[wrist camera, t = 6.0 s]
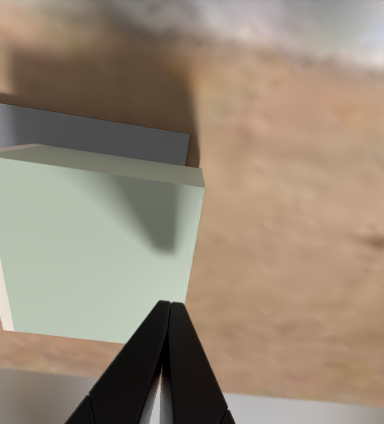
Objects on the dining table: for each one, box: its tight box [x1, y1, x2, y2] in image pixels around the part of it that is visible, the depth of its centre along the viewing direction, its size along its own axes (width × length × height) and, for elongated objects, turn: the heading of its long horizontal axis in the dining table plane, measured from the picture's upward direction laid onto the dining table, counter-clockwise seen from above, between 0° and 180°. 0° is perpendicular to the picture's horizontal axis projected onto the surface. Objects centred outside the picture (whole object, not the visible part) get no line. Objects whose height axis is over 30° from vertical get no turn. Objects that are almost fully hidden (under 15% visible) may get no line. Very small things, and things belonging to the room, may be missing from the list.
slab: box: [0, 143, 205, 344], centre depth 11 cm, size 4×8×8 cm
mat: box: [0, 103, 190, 166], centre depth 12 cm, size 10×11×1 cm
